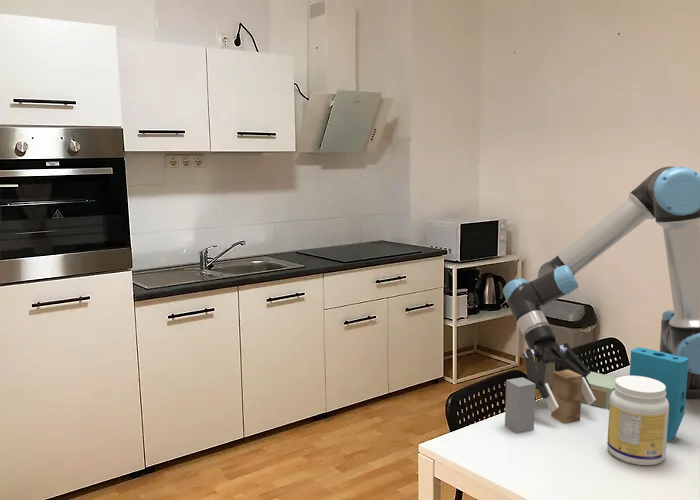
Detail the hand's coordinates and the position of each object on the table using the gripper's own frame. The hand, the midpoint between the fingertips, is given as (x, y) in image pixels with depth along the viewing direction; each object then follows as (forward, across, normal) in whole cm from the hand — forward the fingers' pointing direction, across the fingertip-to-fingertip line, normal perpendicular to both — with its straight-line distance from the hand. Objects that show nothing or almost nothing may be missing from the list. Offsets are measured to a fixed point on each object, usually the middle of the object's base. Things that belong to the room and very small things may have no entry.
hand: (573, 405), depth 159 cm
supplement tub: (+17, -1, +10) cm, 20 cm away
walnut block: (+1, 0, -5) cm, 5 cm away
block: (+12, -14, +6) cm, 19 cm away
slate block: (+1, +14, -5) cm, 15 cm away
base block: (-3, -17, -10) cm, 20 cm away
